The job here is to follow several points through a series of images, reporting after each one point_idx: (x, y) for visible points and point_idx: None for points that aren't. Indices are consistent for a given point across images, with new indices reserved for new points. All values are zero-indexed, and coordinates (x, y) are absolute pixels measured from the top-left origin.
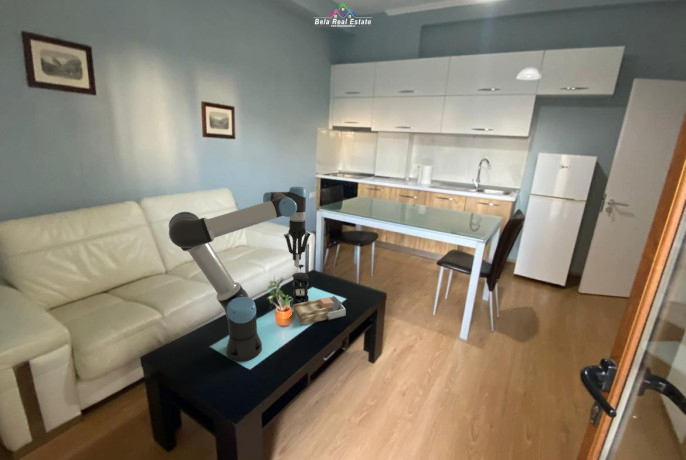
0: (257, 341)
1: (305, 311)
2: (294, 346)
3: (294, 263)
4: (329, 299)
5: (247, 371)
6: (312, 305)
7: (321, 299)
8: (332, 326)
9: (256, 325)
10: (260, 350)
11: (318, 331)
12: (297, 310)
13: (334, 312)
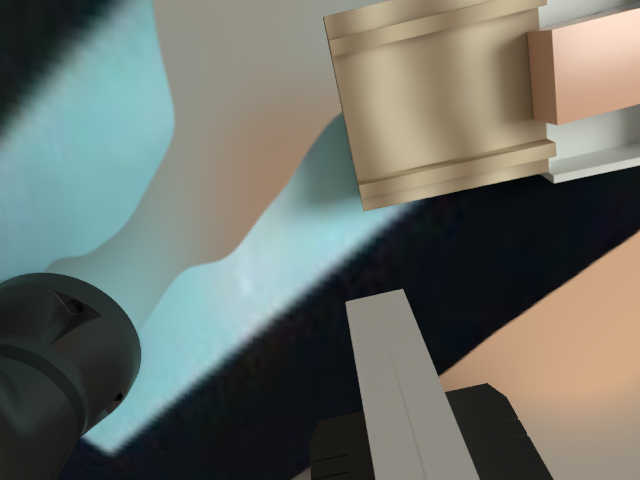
0: (104, 407)
1: (400, 128)
2: (295, 360)
3: (349, 324)
4: (631, 39)
5: (101, 461)
6: (472, 48)
7: (564, 46)
8: (529, 241)
9: (63, 452)
10: (134, 379)
11: (438, 270)
12: (346, 102)
13: (594, 173)
